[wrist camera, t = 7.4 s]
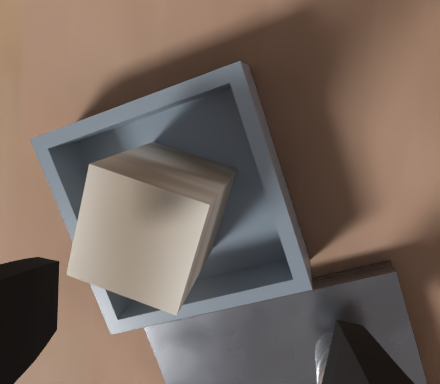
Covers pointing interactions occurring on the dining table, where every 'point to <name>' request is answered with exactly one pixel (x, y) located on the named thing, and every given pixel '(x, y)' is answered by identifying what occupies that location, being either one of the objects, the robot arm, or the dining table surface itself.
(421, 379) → the crank plate
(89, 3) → the dining table surface
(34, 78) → the dining table surface
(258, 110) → the tray
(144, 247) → the block
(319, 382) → the crank
